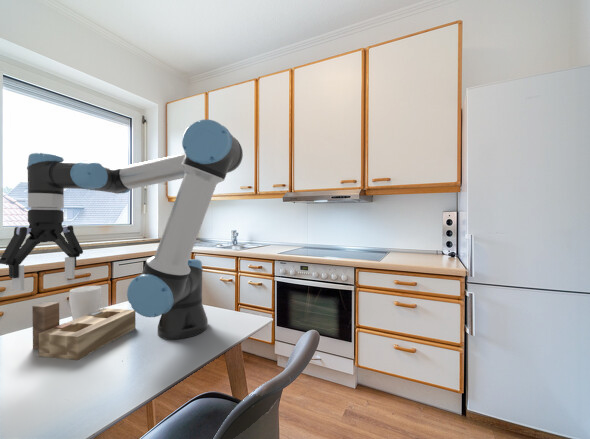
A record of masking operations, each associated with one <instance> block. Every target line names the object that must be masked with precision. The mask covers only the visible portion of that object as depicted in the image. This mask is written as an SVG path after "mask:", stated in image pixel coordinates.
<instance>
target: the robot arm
mask: <svg viewBox="0 0 590 439" xmlns="http://www.w3.org/2000/svg"><path fill="white" fill-rule="evenodd" d="M181 140H182V141H181V144H182V145H181V147H182V149H183V151H184V153H181V154H176V155H171V156H166V157H162V158H157V159H153V160H152V159H151V160H148V161H143V162H139V163H133V164H129V165H125V166H120V167H116V168H115V167H114V168H108V167H104V166H103V165H102V164H101V163H99V162H96V161H95V162H94V161H88V160H83V161H64V157H62V156H60V155H58V154H55V153H54V154H52V153H48V152H47V153H44V152H33V153H29V155H28V160H27V167H26V170H27V207H28V208H30V209H28V210H27V223H28V227H26V226H15V227H14V230H13V236H12V238H11V239H10V241H9V242H8V244H7V246H6V248H5V250H4V251H3V253H2V255H1V256H0V265H6V266H8V277H9V279H11V288H12V291H24V290H25V264H22V263H23V261H24V260H25V259H26V258H28V256H29V255H30V254H31V252H32V251H33V250H34V249H35V248H36V246H38V245H39V244H41V243H47V242H48V243H49V242H50V243H51V242H52V243H55V244H56V246H58V247H59V249H61V250H62V252H64V254H65V255H66V256H65V257H64V279H68V280H69V279H70V280H71V279H75V278H76V277H75V275H76V274H75V268H76V266H77V258H79V257H80V256H81V255H82V254H83V253H84V251H83V249H82V246H81V244H80V243H79V240H78V238H77V237H76V235H75V232H74V225H66V224H64V225H62V224H63V223H64V216H65V215H64V211H63V210H62V209H63V208H64V207H65V204H64V202H65V201H64V200H65V196H64V194H65V193H64V192H65V191H64V190H65V189H72V190H73V189H78V190H80V189H81V190H89V191H97V192H106V193H112V194H118V195H119V194H126V193H129V192H130V191H131V190H133V189H137V188H143V187H148V186H151V185H152V186H153V185H157V184H161V183H167V182H171V181H176V180H181V179H182V180H181V183H180V187H179V188H178V192H177V195H176V197H175V200H174V202H173V205H172V208H171V210H170V213H169V215H168V216H169V217H168V219H167V222H166V224H165V227H164V230H163V233H162V235H161V238H160V240H159V243H158V245H157V249H156V252H155V254H154V255H152V256H151V257H148V258H147V259H146V260H145V264H144V266H143V269H142V271H141V274H138V275H136V276H135V277H134V278H133V279H132V280H131V281H130V283H129V285H128V286H127V291H126V296H127V300H128V303H129V304H130V305H131V308H132V310H135V313H137V314H138V315H139V316H142V317H145V318H156V317H159V316H160V318H159V322H158V324H157V335H158V337H160V338H162V339H166V340H168V339H169V340H178V339H179V340H180V339H186V338H191V337H194V336H197V335H200V334H201V333H204V332H205V331H206V330H207V329H208V324H209V320H208V316H207V313H206V311H205V308H204V305H203V264H202V261H201V260H200V259H198V258H197V259H195V258H194V259H193V258H192V259H191V258H190V257H191V254H192V252H193V250H194V246H195V244H196V241H197V238H198V236H199V233H200V230H201V227H202V225H203V223H204V220H205V217H206V214H207V211H208V209H209V206H210V204H211V201H212V197H213V195H214V192H215V190H216V186H217V185H218V184H219V183H222V182H223V181H225V179H226V177H227V174H228V173H229V174H230V173H231V172H234V171H235V170H237V169H238V168H239V166H240V165H241V163H242V161H243V157H244V156H243V148H242V145H241V144H240V142H239V141H238V139H236V137H234V136H233V135H232V134H231V132H230V131H229V130H228V128H227V127H226V126H224V125H222V123H220V122H218V121H215V120H212V119H207V118H206V119H200V120H197V121H195V122H192V123H191V124H190V125H189V126H188V127H187V128H186V129H185V131H184V133H183V135H182V139H181ZM62 233H63V235H62ZM27 235H29V236H28V237H27ZM26 237H27V239H26ZM23 243H24V244H23Z"/></svg>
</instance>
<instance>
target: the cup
mask: <svg viewBox="0 0 590 439" xmlns="http://www.w3.org/2000/svg"><path fill="white" fill-rule="evenodd" d="M102 292H103V290H102V286H101V285H84V286H79V287H75V288H71V289H70V290H69V294H68V295H69V297H68V301H69V302H68V303H69V308H70V312H71V313H70V314H71V317H72V318H71V319H72V320H75V319H77V318H80V317H83V316H85V315H87V314H89V313H92V312H95V311H98V310H101V305H102V304H101V303H102V298H103V293H102Z"/></svg>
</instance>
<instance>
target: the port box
mask: <svg viewBox="0 0 590 439" xmlns="http://www.w3.org/2000/svg"><path fill="white" fill-rule="evenodd" d="M136 324H137V323H136V311H135V310H133V309H122V308H107V307H104V308H100V310H98V311H95V312H92V313H89V314H87V315H85V316H83V317H80V318H77V319H75V320H73V319H72V320H70V321H67V322H64V323H62V324H59V326H56V327H54V328H52V329H49V330H47V331H44V332H41V333H39V349H38V356H39V357H45V358H55V359H63V360H65V359H66V360H75V361H79V360H80V359H82V358H84V357H87V356H88V355H89V354H92V353H93V352H95V351H97V350H99V349H101V348H102V347H105V346H106V345H108V344H110V343H112V342H113V341H116V340H117V339H119V338H121V337H123V336H124V335H126V334H128V333H130V332H131V331H133V330H135V329H136Z"/></svg>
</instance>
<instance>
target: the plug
mask: <svg viewBox="0 0 590 439" xmlns="http://www.w3.org/2000/svg"><path fill="white" fill-rule="evenodd" d="M31 306H32V349H33V350H39V333H41V332H44V331H47V330H49V329H52V328H54V327H56V326H59V325H60V301H59V302H57V301H45V302H42V303H39V304H35V305H31Z"/></svg>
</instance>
